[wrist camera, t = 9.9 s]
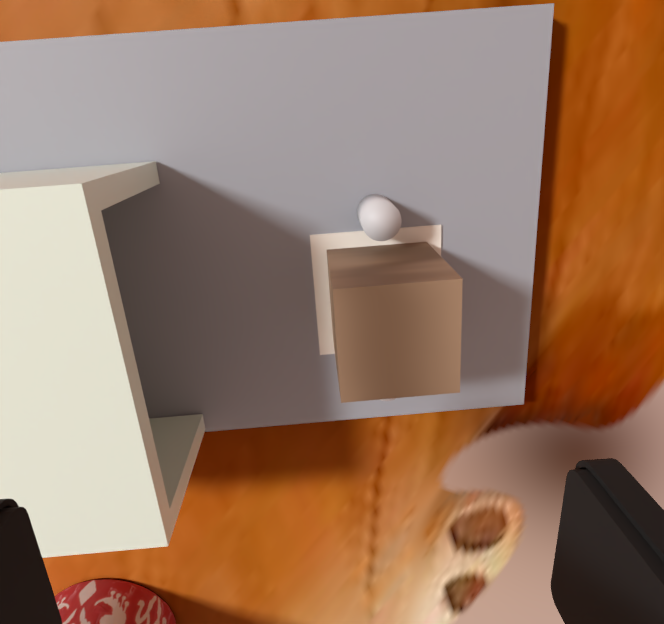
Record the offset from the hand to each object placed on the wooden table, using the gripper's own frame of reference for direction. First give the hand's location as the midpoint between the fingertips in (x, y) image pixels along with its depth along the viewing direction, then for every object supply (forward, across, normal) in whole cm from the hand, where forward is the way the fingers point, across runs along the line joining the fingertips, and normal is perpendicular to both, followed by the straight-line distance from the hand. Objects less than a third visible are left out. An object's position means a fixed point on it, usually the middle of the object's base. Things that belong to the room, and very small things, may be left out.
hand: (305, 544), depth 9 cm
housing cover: (+13, +9, 0) cm, 16 cm away
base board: (+14, +2, -2) cm, 14 cm away
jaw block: (+13, -3, 0) cm, 13 cm away
